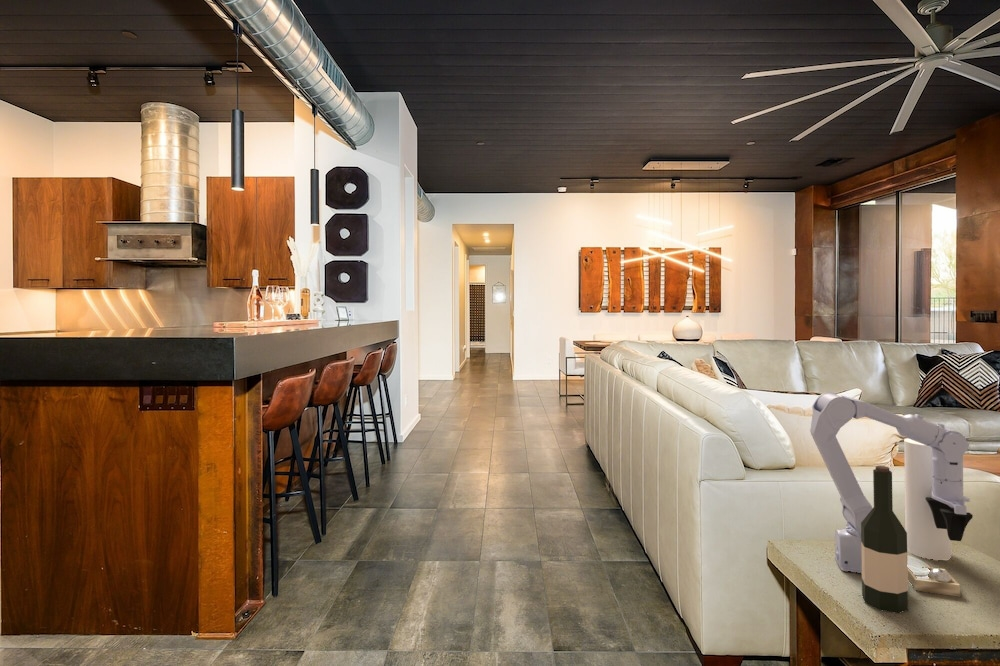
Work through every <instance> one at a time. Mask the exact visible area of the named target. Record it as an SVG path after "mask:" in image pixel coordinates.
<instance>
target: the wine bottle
mask: <svg viewBox="0 0 1000 666" xmlns="http://www.w3.org/2000/svg"><path fill="white" fill-rule="evenodd" d="M872 471H873V472H872V474H873V476H872V478H873V479H872V480H873V482H872V485H873V506H872V508H873V509H872V510H871V511H870V512H869V514H868V515H867V516H866V517H865V519H864V520H863V521H862V522H861V555H862V573H861V596H863V597H862V599H863V601H865V602H864V603H865V604H866V605H868V606H871V607H873V608H875V609H876V610H878V609H879V611H881V610H883V612H887V613H893V612H895V613H894V614H900V612H901V613H903V612H902V611H904V612H906V611H905V610H907V611H909V592H908V591H909V584H908V583H909V582H908V569H907V565H908V551H907V532H906V531H905V528H904V527H905V526H903V525H902V523H901V521H900V520H899V518H898V516H897V515H896V514H895V511H894V509H893V472H892V471H891V470H890V467H889V466H885V465H876V466H875V469H873V470H872Z"/></svg>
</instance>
